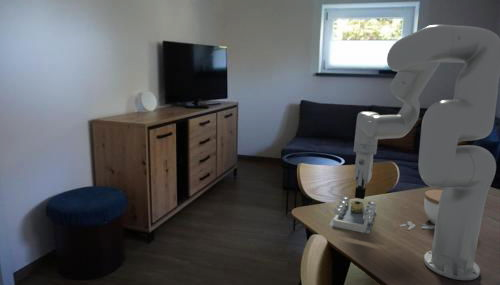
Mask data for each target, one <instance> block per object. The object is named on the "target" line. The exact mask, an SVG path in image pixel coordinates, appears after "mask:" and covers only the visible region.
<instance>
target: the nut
mask: <svg viewBox="0 0 500 285" xmlns="http://www.w3.org/2000/svg"><path fill="white" fill-rule="evenodd" d="M350 205H351V210H350V211H351V212H352V213H354V214H362V213H363V208H364V203H363V202H362V201H359V200H358V201H357V200H356V201H355V200H353V201H351V202H350Z"/></svg>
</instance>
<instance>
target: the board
mask: <svg viewBox="0 0 500 285" xmlns="http://www.w3.org/2000/svg"><path fill="white" fill-rule="evenodd" d="M366 209H367V207H363V213H362V214H354V213H352V212H351V211H350V210H351V204H349V207H347V211H346V212H344V216H342V219H341V220H339V214H336V216H335V218H334V216H333V217H332V219H331V220H330V222H329V224H328V226H330V227H335V228H339V229H344V230H349V231H353V232H358V233H359V232H360V233H362V234H368V235H369V234H370V233H371V229H372V226H373V223H374V219H375V217H376V215H377V214H376V213H377V209H376V212H375V213H374V217H373V221H372V223H371V225H370V226H367V225H368V220H367V219H365V221H364V224H363V215H364V213H365V210H366Z"/></svg>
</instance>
